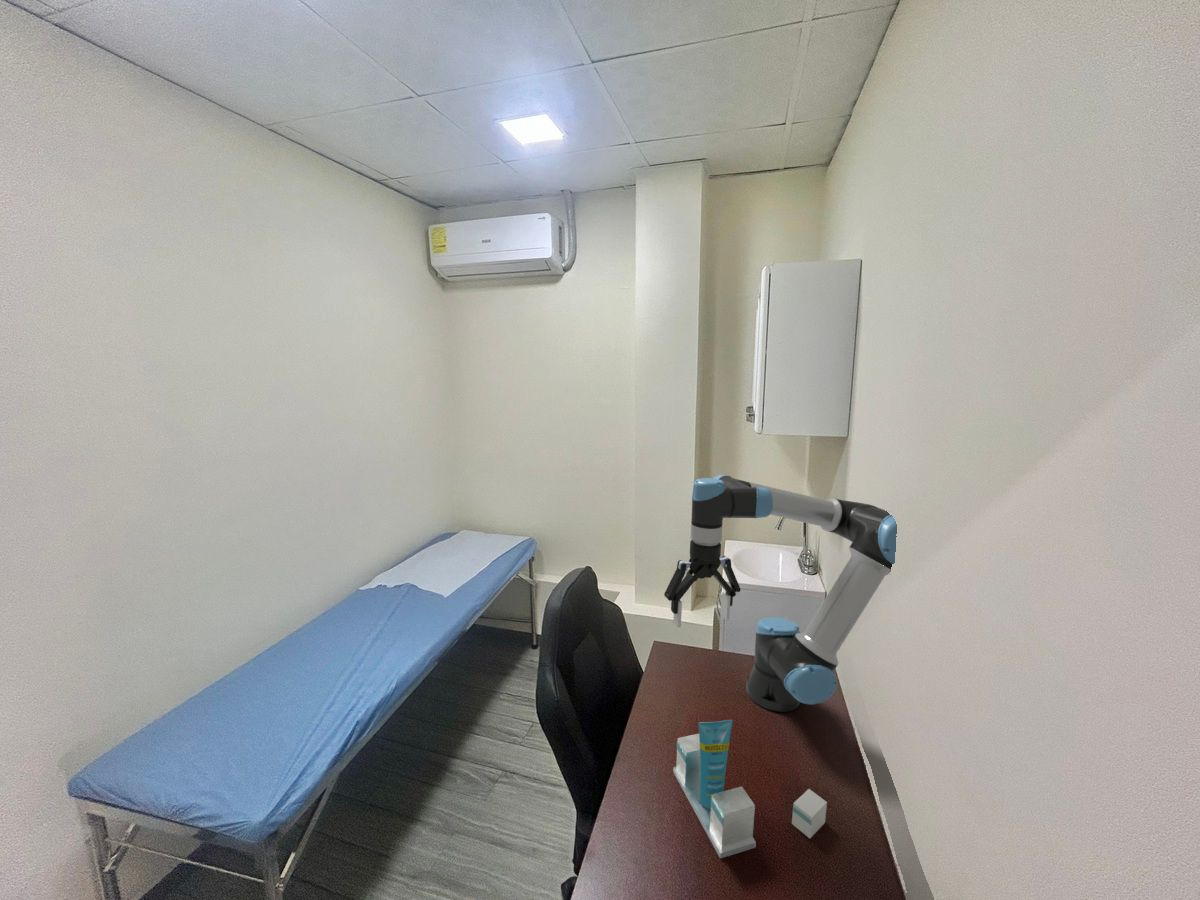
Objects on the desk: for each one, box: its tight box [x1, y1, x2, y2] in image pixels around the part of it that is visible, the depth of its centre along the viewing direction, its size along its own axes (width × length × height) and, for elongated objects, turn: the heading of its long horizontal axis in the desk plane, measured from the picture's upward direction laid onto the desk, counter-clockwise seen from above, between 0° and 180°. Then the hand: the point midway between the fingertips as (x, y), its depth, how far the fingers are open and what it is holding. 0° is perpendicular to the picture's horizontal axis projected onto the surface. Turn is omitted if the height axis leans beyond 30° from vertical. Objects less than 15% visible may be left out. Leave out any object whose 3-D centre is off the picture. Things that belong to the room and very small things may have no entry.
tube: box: [698, 719, 734, 809], centre depth 99 cm, size 7×5×19 cm, turn 102°
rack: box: [672, 733, 757, 859], centre depth 100 cm, size 8×21×9 cm, turn 17°
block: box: [791, 788, 828, 839], centre depth 97 cm, size 6×4×5 cm, turn 126°
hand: (701, 621), depth 117 cm, fingers open, 13 cm apart
